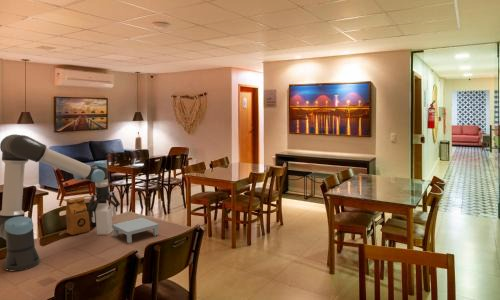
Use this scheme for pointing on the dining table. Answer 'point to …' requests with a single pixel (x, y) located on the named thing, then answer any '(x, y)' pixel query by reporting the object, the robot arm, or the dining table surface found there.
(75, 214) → the coffee package
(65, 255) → the dining table surface
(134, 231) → the grey square footed tray
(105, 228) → the milk carton
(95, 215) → the coffee jar
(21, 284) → the dining table surface
